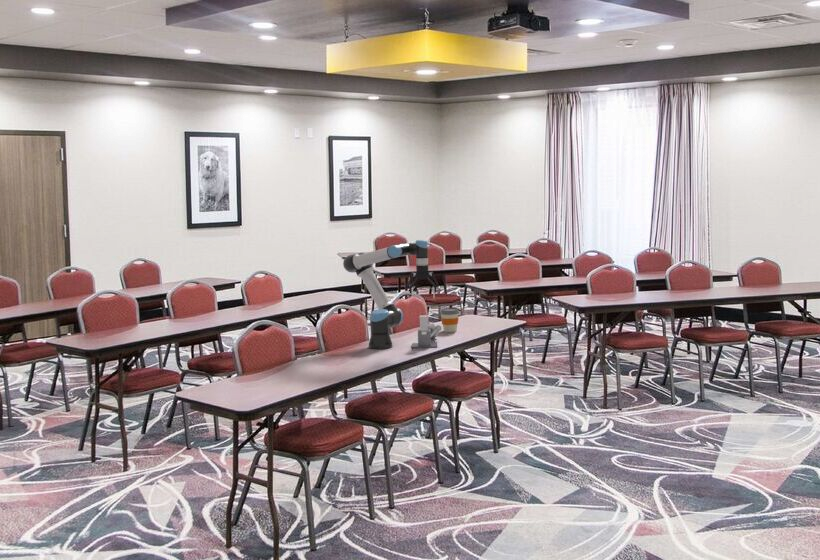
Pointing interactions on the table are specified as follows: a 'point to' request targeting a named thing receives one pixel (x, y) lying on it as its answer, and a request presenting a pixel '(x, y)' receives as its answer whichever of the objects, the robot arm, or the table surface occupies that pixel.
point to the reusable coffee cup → (449, 319)
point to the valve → (434, 330)
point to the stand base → (424, 340)
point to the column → (423, 323)
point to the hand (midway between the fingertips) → (423, 298)
